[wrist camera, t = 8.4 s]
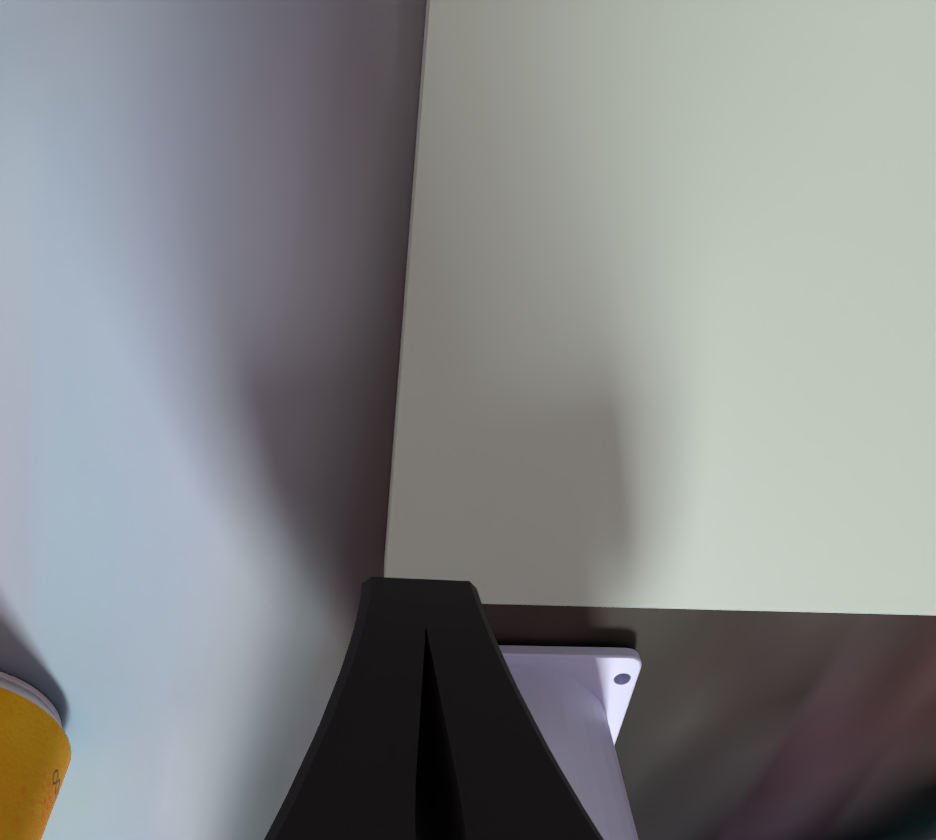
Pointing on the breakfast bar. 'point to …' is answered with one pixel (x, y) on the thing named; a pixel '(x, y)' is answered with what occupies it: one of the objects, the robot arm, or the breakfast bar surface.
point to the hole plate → (672, 306)
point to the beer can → (29, 759)
